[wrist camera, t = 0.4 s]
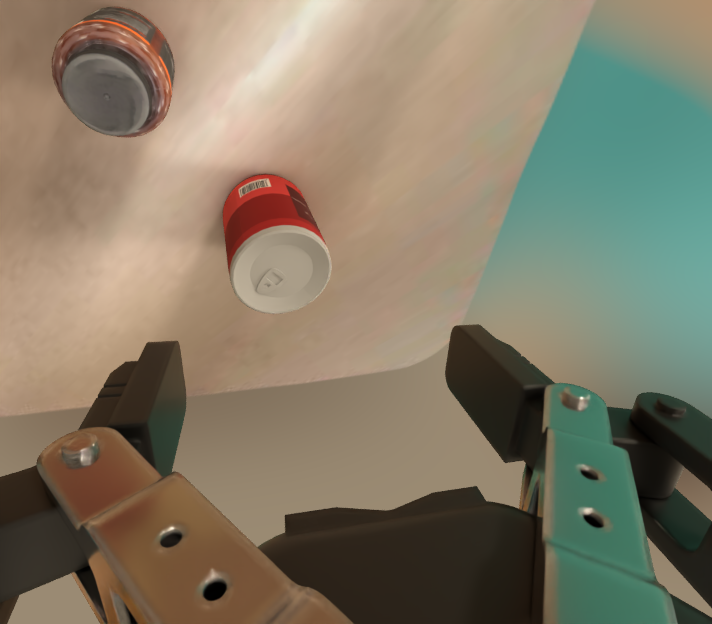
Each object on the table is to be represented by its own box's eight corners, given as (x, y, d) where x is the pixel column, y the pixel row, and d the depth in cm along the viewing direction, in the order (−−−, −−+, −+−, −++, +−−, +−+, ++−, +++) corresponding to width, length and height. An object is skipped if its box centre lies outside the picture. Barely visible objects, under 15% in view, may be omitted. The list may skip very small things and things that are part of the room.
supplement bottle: (62, 10, 27) (6, 34, 19) (156, 0, 28) (143, 18, 20) (104, 108, 31) (74, 162, 23) (186, 96, 32) (185, 144, 24)
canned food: (207, 228, 40) (212, 297, 31) (247, 154, 36) (263, 210, 28) (279, 258, 44) (298, 326, 36) (319, 194, 41) (351, 253, 33)
